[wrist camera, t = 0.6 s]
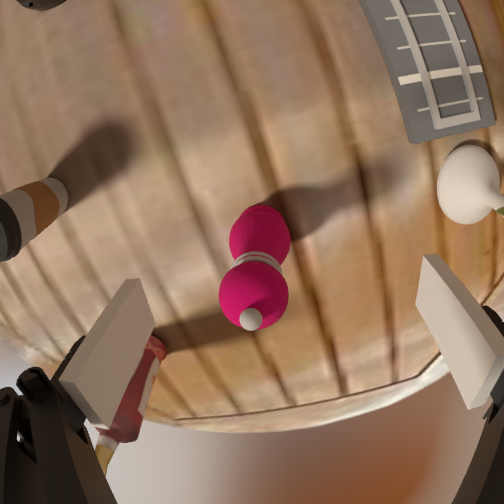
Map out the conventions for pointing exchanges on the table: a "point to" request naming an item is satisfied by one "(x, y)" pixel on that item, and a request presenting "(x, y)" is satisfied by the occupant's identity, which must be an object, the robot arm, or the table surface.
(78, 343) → the robot arm
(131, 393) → the liquor
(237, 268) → the pepper mill
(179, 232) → the table surface
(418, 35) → the panel
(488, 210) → the flower in vase
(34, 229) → the coffee cup
